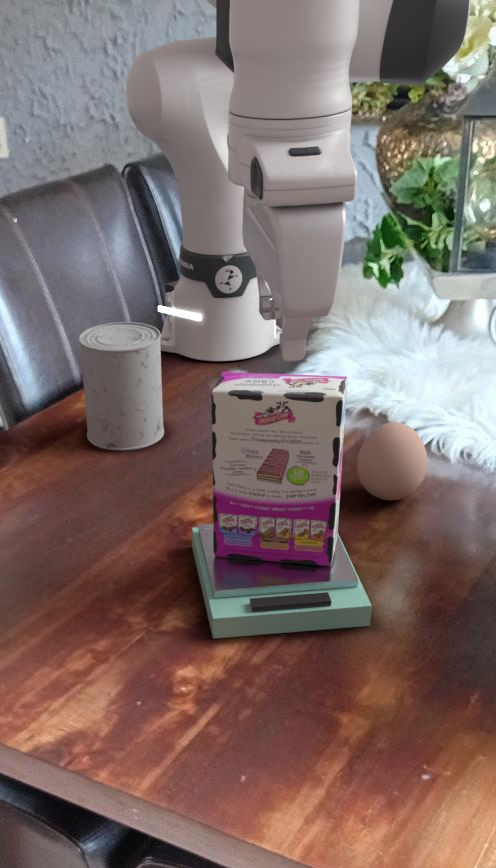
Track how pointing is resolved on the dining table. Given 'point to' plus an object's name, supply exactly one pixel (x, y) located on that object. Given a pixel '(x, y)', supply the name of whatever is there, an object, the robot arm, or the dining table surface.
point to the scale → (281, 607)
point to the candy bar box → (277, 466)
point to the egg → (392, 461)
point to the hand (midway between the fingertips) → (280, 336)
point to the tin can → (122, 385)
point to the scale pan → (272, 572)
